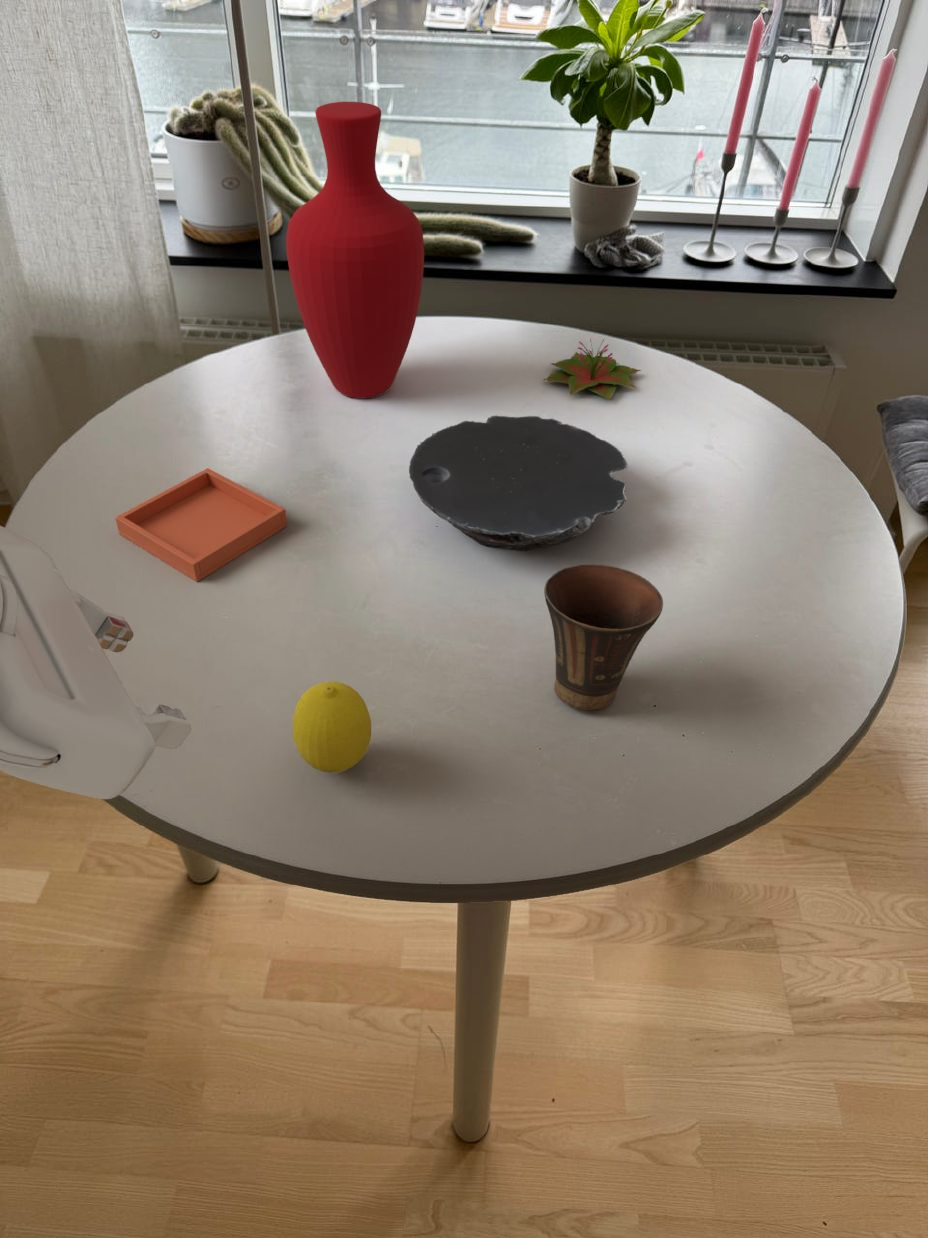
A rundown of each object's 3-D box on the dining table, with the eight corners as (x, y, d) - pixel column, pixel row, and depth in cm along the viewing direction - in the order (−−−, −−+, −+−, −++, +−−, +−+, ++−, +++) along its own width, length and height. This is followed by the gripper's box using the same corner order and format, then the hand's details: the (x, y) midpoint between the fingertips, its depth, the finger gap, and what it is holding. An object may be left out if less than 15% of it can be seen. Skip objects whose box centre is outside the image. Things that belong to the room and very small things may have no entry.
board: (365, 538, 92) (362, 494, 89) (462, 433, 107) (463, 391, 104) (583, 605, 85) (589, 559, 82) (654, 482, 100) (661, 439, 97)
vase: (372, 346, 122) (360, 82, 103) (450, 388, 115) (454, 111, 95) (275, 383, 115) (242, 105, 95) (352, 431, 107) (334, 138, 87)
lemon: (325, 807, 68) (316, 731, 63) (284, 759, 71) (271, 683, 66) (388, 769, 71) (385, 693, 66) (346, 725, 74) (339, 649, 69)
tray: (196, 582, 87) (193, 564, 85) (119, 534, 92) (114, 517, 90) (287, 525, 93) (285, 508, 92) (210, 484, 98) (207, 467, 97)
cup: (643, 651, 81) (661, 556, 74) (647, 730, 74) (668, 633, 68) (537, 642, 82) (547, 547, 75) (532, 720, 75) (542, 623, 68)
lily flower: (615, 414, 111) (620, 378, 108) (524, 386, 115) (526, 350, 112) (657, 374, 118) (663, 338, 115) (570, 349, 123) (573, 314, 120)
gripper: (6, 694, 40) (254, 752, 51) (-92, 469, 53) (123, 553, 63) (-71, 808, 41) (188, 841, 52) (-149, 560, 54) (72, 628, 64)
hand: (151, 681), depth 58 cm, fingers open, 8 cm apart
